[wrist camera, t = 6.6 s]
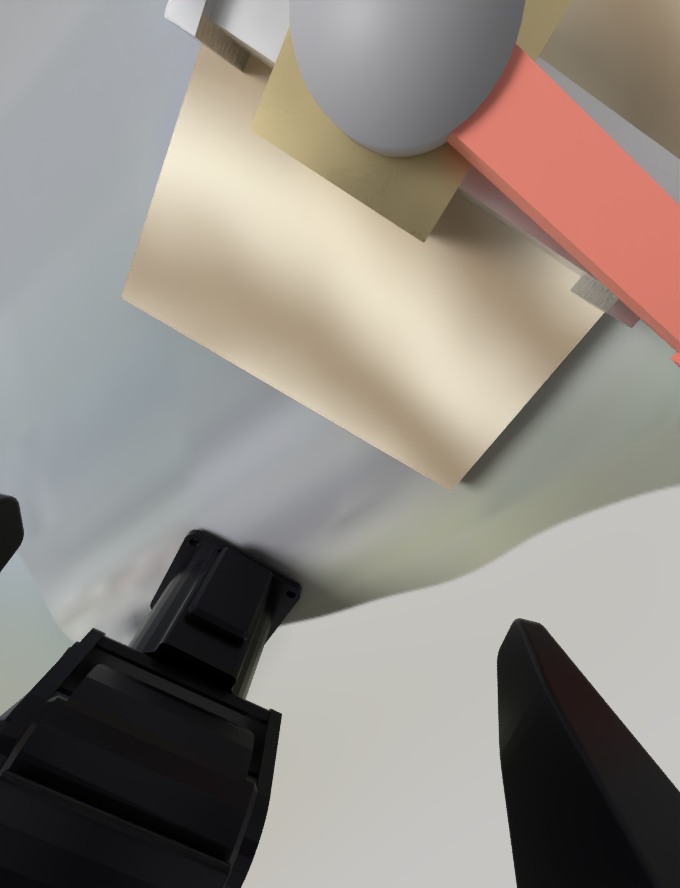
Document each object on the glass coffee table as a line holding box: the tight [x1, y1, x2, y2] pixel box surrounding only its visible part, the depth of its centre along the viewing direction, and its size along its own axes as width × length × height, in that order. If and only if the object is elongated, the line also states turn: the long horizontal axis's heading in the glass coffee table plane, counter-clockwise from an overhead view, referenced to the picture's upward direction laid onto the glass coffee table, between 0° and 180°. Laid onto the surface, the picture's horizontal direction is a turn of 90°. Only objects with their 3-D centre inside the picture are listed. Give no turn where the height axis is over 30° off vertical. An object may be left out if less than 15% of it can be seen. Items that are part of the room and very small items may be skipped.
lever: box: [289, 0, 680, 367], centre depth 10 cm, size 14×4×2 cm, turn 52°
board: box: [121, 0, 680, 491], centre depth 16 cm, size 16×15×1 cm
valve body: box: [164, 0, 680, 328], centre depth 12 cm, size 6×14×4 cm, turn 59°
